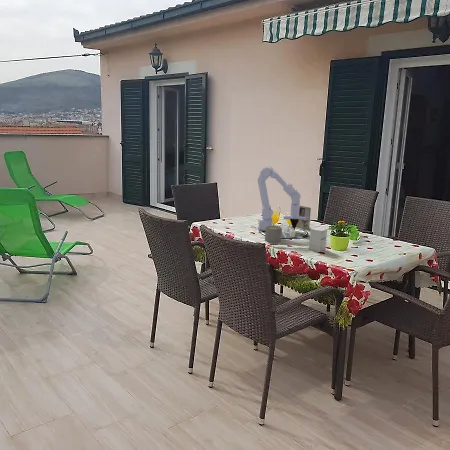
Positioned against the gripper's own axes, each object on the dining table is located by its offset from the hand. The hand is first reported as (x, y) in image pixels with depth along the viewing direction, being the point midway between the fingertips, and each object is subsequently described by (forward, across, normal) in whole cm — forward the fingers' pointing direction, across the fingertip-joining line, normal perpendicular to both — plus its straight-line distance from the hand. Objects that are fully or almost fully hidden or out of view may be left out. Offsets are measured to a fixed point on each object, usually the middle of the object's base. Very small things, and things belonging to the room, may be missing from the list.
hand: (293, 230), depth 310 cm
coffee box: (+3, +8, +16) cm, 19 cm away
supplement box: (+3, +9, -38) cm, 39 cm away
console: (+3, -3, -8) cm, 9 cm away
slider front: (+1, -2, -14) cm, 14 cm away
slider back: (+1, -3, 0) cm, 3 cm away
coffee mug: (+3, -15, -24) cm, 29 cm away
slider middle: (+1, -2, -7) cm, 8 cm away
